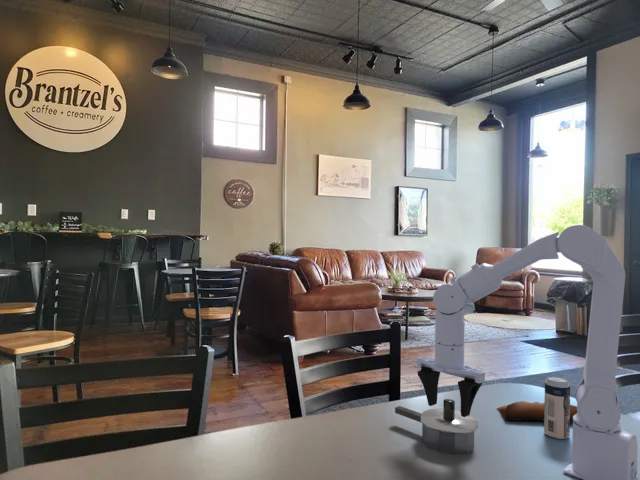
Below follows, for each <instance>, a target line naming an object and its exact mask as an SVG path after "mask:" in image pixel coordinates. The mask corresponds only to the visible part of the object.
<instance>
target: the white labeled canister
mask: <svg viewBox="0 0 640 480" xmlns="http://www.w3.org/2000/svg"><path fill="white" fill-rule="evenodd" d="M543 403H544V420H543V423H544V424H543V425H544V426H543V431H544V434H546V435H547V436H548V437H550V438H551V439H552V438H553V439H556V440H566V439H569V437H571V436H570V432H571V431H570V429H571V428H570V427H571V426H570V425H571V424H570V423H571V422H570V405H571V384H570V382H569V380H568V379H566V378H564V377H560V376H548V377H547V378H546V379H545V381H544V402H543Z"/></svg>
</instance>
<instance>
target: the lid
mask: <svg viewBox="0 0 640 480" xmlns="http://www.w3.org/2000/svg"><path fill="white" fill-rule="evenodd" d="M455 402H456V401H455V400H454V399H450V398H445V399H443V406H442V407H443V408H431V409H430V408H429V409H427V410H425V411H423V412H421V422H422V423H421V422H420V423H421V424H423V425H425V426H426V427H428V428H430V429H432V430H435V431H438V432H442V433H448V434H468V433H472V432H474V433H475V432H476V431H477V430H478V428H479V421H478V419H477V418H476V417H475V416H473V415H471V414H470V415H468V416H466V417H462V416H461V410H457V409H456V407H455V406H456V403H455Z"/></svg>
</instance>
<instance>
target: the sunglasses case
mask: <svg viewBox="0 0 640 480" xmlns="http://www.w3.org/2000/svg"><path fill="white" fill-rule="evenodd" d="M496 411H498V413H499V414H500V415H501V417H502V418H503V420H504V422H506V421H526V420H527V421H534V420H537V421H544V402H539V401H534V402H529V401H523V400H522V401H520V400H519V401H515V402H512V403H509V404H507V405H502V406H500V407H498V408H496ZM576 413H577V405H573V404H570V423H573V416H574V415H575V414H576Z"/></svg>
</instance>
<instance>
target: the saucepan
mask: <svg viewBox="0 0 640 480" xmlns="http://www.w3.org/2000/svg"><path fill="white" fill-rule="evenodd" d="M394 413H395V414H397V415H400V416H402V417H405V418H408V419H410V420H413V421H416V422H419V423H421V424H422V422H421V414H422V412H418V411H416V410H413V409H409V408H407V407H405V406H401V405H398V406H395V407H394ZM421 431H422V432H421V433H422V434H421V442H422V443H423V445H425V446H426V447H427V448H428V449H431V450H433V451H436V452H439V453H442V454H447V455H463V454H468V453H470V452H471V451H474V450H475V431H474V432H472V433H468V434H448V433H442V432H438V431H435V430H432V429H430V428H428V427H426V426H425V425H423V424H422V428H421Z"/></svg>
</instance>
